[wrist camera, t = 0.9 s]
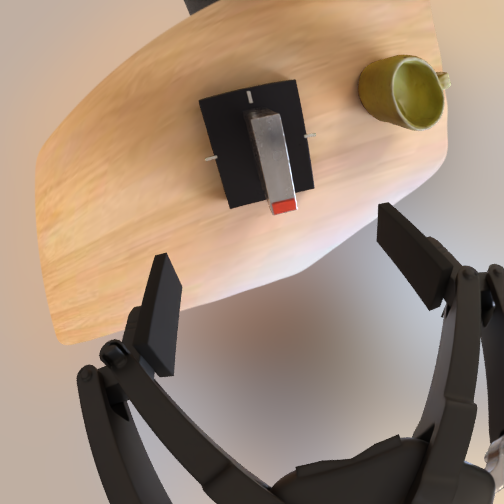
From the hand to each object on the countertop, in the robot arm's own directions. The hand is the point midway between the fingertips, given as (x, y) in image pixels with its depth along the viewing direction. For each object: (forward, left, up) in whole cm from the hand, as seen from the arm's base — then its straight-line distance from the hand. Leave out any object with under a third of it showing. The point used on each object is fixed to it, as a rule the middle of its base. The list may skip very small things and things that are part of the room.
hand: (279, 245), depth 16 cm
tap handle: (-2, +2, -18) cm, 18 cm away
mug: (-7, +22, -21) cm, 31 cm away
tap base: (-2, +2, -20) cm, 21 cm away
